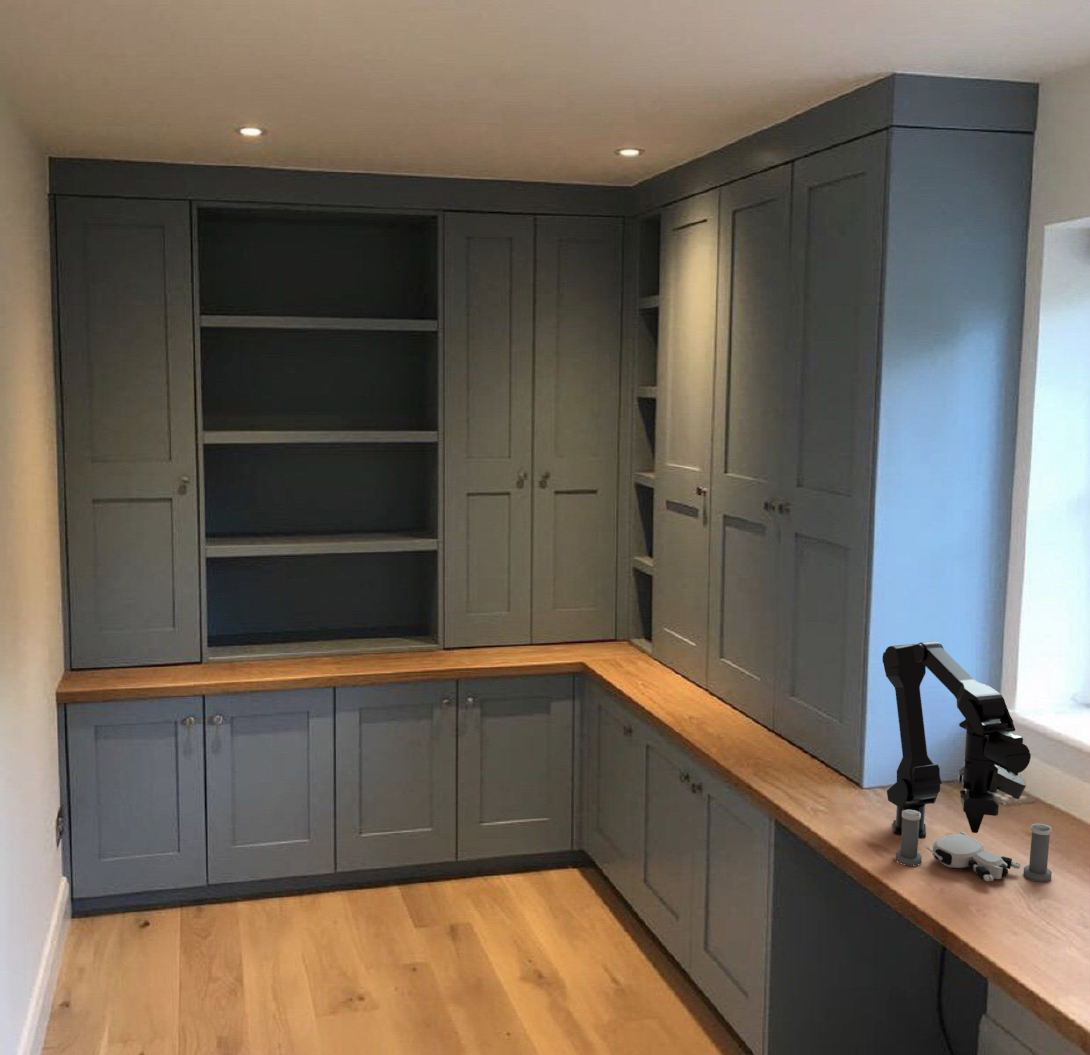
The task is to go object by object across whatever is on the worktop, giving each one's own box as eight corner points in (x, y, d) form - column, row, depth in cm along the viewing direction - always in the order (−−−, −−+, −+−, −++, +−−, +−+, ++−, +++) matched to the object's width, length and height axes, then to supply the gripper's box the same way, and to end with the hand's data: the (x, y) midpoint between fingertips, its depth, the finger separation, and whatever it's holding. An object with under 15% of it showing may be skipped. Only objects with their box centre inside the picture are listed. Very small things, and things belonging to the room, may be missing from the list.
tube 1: (895, 854, 249) (898, 807, 247) (921, 857, 247) (924, 809, 246) (895, 864, 244) (898, 816, 242) (921, 867, 242) (925, 819, 241)
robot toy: (1022, 878, 241) (956, 847, 252) (1026, 857, 240) (958, 826, 251) (987, 895, 233) (919, 862, 245) (990, 873, 232) (922, 841, 244)
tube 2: (1022, 869, 242) (1026, 821, 241) (1049, 872, 241) (1053, 824, 239) (1024, 880, 238) (1028, 830, 236) (1052, 883, 236) (1057, 834, 235)
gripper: (1030, 776, 228) (1023, 856, 230) (1019, 744, 246) (1013, 819, 248) (966, 770, 231) (960, 849, 233) (960, 738, 248) (955, 812, 251)
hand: (974, 832), depth 241 cm, fingers closed
